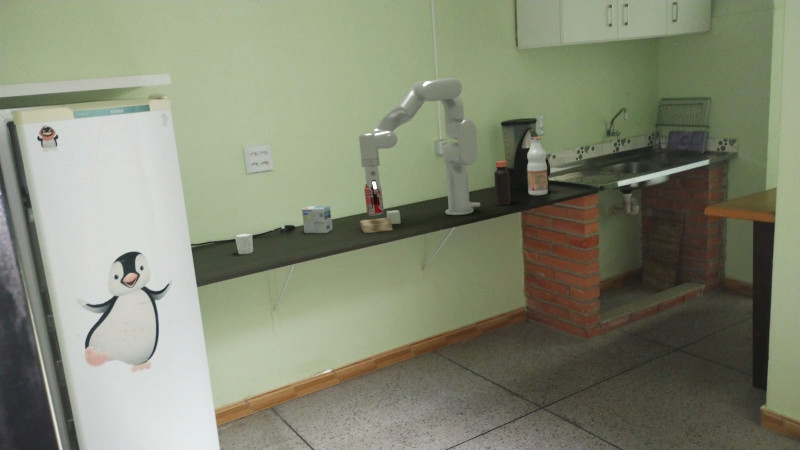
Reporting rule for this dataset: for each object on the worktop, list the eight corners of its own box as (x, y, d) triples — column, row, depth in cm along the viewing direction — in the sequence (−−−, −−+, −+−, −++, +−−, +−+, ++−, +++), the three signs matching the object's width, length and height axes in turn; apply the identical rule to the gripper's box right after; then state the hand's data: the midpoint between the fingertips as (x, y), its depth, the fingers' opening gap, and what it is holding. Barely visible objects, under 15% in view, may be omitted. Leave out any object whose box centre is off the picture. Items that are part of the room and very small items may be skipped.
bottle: (511, 205, 316) (509, 162, 312) (496, 206, 317) (494, 163, 312) (509, 202, 323) (507, 160, 319) (495, 203, 323) (492, 161, 319)
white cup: (238, 250, 272) (235, 233, 271) (255, 249, 273) (253, 232, 271) (235, 255, 265) (233, 237, 264) (253, 253, 266) (251, 236, 264)
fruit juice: (524, 194, 338) (522, 138, 332) (535, 191, 344) (533, 135, 338) (540, 196, 331) (538, 138, 325) (551, 192, 338) (549, 136, 332)
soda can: (381, 215, 285) (379, 185, 282) (365, 216, 286) (362, 185, 284) (385, 212, 292) (382, 182, 289) (369, 212, 293) (366, 182, 290)
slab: (387, 224, 298) (387, 217, 297) (392, 230, 286) (391, 223, 285) (360, 227, 296) (359, 220, 295) (364, 233, 284) (363, 226, 283)
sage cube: (398, 221, 303) (397, 210, 302) (400, 223, 298) (399, 212, 297) (387, 222, 302) (386, 211, 301) (389, 224, 297) (388, 213, 296)
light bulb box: (333, 229, 296) (330, 205, 294) (326, 233, 290) (323, 208, 288) (310, 229, 300) (308, 205, 297) (303, 233, 294) (301, 208, 291)
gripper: (382, 164, 277) (386, 207, 281) (376, 159, 294) (380, 200, 298) (364, 166, 276) (368, 209, 280) (359, 161, 293) (363, 202, 296)
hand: (374, 204), depth 289 cm, fingers closed on soda can, 6 cm apart
